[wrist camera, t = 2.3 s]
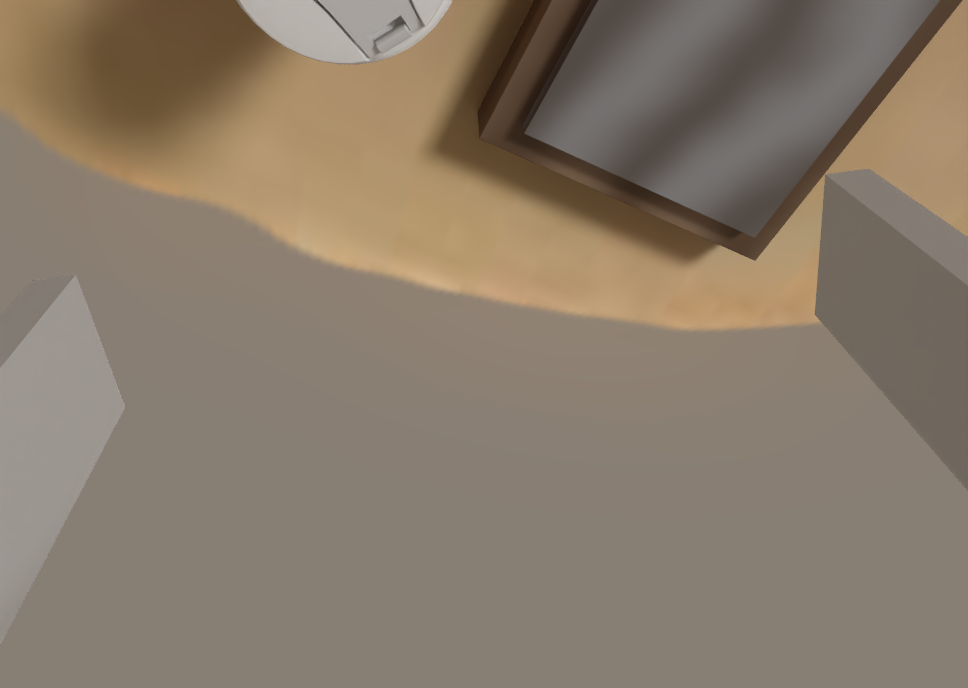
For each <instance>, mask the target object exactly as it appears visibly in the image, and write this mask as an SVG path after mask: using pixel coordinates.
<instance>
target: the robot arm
mask: <svg viewBox="0 0 968 688" xmlns="http://www.w3.org/2000/svg"><path fill="white" fill-rule="evenodd" d="M815 315H816V316H817V317H818V319H819V320H820V321H821V322H822V323H823V324H824V326H825V327H826V328H827V329H828V330H829V331H830V332H831V334H832V335H833V336H834V337H835V338H836V339H837V340H838V342H839V343H840V344H841V345H842V346H843V347H844V349H845V350H846V351H847V352H848V353H849V354H850V355H851V357H852V358H853V359H854V360H855V361H856V362H857V363H858V365H859V366H860V367H861V368H862V369H863V370H864V372H865V373H866V374H867V375H868V376H869V377H870V378H871V380H872V381H873V382H874V383H875V384H876V385H877V386H878V388H879V389H880V390H881V391H882V392H883V393H884V395H885V396H886V397H887V398H888V399H889V400H890V402H891V403H892V404H893V405H894V406H895V407H896V408H897V410H898V411H899V412H900V413H901V414H902V415H903V416H904V418H905V419H906V420H907V421H908V422H909V423H910V424H911V426H912V427H913V428H914V429H915V430H916V431H917V433H918V434H919V435H920V436H921V437H922V438H923V440H924V441H925V442H926V443H927V444H928V445H929V446H930V448H931V449H932V450H933V451H934V452H935V453H936V454H937V455H938V457H939V458H940V459H941V460H942V461H943V463H944V464H945V465H946V466H947V467H948V468H949V469H950V471H951V472H952V473H953V474H954V475H955V476H956V477H957V479H958V480H959V481H960V482H961V483H962V484H963V485H964V487H965V488H966V489H967V490H968V237H967V236H966V235H964V234H963V233H961V232H960V231H958V230H957V229H955V228H954V227H953V226H951V225H950V224H948V223H947V222H945V221H944V220H942V219H941V218H940V217H938V216H937V215H935V214H934V213H932V212H931V211H929V210H928V209H927V208H925V207H924V206H922V205H921V204H919V203H918V202H916V201H915V200H914V199H912V198H911V197H909V196H908V195H906V194H905V193H903V192H902V191H901V190H899V189H898V188H896V187H895V186H893V185H892V184H890V183H889V182H888V181H886V180H885V179H883V178H882V177H880V176H879V175H877V174H876V173H875V172H873V171H872V170H870V169H863V170H855V171H848V172H840V173H833V174H825V186H824V200H823V213H822V226H821V240H820V253H819V266H818V279H817V293H816V306H815ZM124 408H125V405H124V403H123V400H122V397H121V395H120V392H119V389H118V386H117V384H116V381H115V378H114V376H113V373H112V370H111V368H110V365H109V362H108V360H107V357H106V354H105V352H104V349H103V346H102V344H101V341H100V339H99V336H98V333H97V330H96V328H95V325H94V322H93V320H92V317H91V314H90V312H89V309H88V306H87V303H86V301H85V298H84V296H83V293H82V290H81V287H80V285H79V282H78V280H77V277H76V275H70V276H63V277H55V278H47V279H40V280H32V281H31V282H30V283H29V284H28V285H27V287H26V288H25V289H24V290H23V291H22V292H21V293H20V294H19V295H18V297H17V298H16V299H15V300H14V301H13V302H12V303H11V304H10V306H9V307H8V308H7V309H6V310H5V311H4V312H3V313H2V314H1V315H0V645H1V643H2V641H3V639H4V637H5V635H6V633H7V631H8V629H9V627H10V625H11V624H12V622H13V620H14V618H15V616H16V614H17V612H18V610H19V609H20V607H21V605H22V603H23V601H24V599H25V597H26V595H27V593H28V591H29V589H30V587H31V586H32V584H33V582H34V580H35V578H36V576H37V574H38V572H39V570H40V568H41V566H42V565H43V563H44V561H45V559H46V557H47V555H48V553H49V551H50V549H51V548H52V546H53V544H54V542H55V540H56V538H57V536H58V534H59V532H60V530H61V528H62V527H63V525H64V523H65V521H66V519H67V517H68V515H69V513H70V511H71V509H72V507H73V506H74V504H75V502H76V500H77V498H78V496H79V494H80V492H81V490H82V488H83V486H84V485H85V483H86V481H87V479H88V477H89V475H90V473H91V471H92V469H93V467H94V466H95V464H96V462H97V460H98V458H99V456H100V454H101V452H102V450H103V448H104V446H105V445H106V443H107V441H108V439H109V437H110V435H111V433H112V431H113V429H114V427H115V426H116V423H117V421H118V420H119V418H120V416H121V414H122V412H123V410H124Z"/></svg>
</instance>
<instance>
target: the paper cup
mask: <svg viewBox="0 0 968 688" xmlns="http://www.w3.org/2000/svg"><path fill="white" fill-rule="evenodd" d="M236 1H237V2H238V4H239V5H240V7H241V8H242V9H243V10H244V12H245V13H246V14H247V15H248V16H249V17H250V19H251V20H252V21H253V22H254V23H255V24H256V25H257V26H258V27H260V28H261V29H262V30H263V31H264V32H265V33H266V34H267V35H268V36H270V37H271V38H273V39H274V40H276V41H277V42H279V43H280V44H282V45H283V46H285V47H286V48H288V49H290V50H292V51H294V52H296V53H298V54H300V55H303V56H306V57H309V58H312V59H315V60H318V61H323V62H329V63H335V64H363V63H370V62H376V61H380V60H383V59H386V58H389V57H393V56H395V55H397V54H399V53H401V52H403V51H405V50H407V49H409V48H410V47H412V46H413V45H414V44H416V43H417V42H419V41H420V40H421V39H423V38H424V37H425V36H426V35H427V34H428V33H429V32H430V31H431V30H432V29H433V28H434V27H435V26H436V25H437V24H438V22H439V21H440V20H441V18H442V17H443V16H444V14H445V13H446V11H447V10H448V8H449V6H450V4H451V2H452V0H236Z"/></svg>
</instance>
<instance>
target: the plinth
mask: <svg viewBox="0 0 968 688" xmlns="http://www.w3.org/2000/svg"><path fill="white" fill-rule="evenodd" d="M961 1H962V0H535V1H534V3H533V5H532V7H531V9H530V11H529V13H528V15H527V17H526V19H525V21H524V23H523V25H522V27H521V29H520V31H519V32H518V34H517V36H516V38H515V40H514V42H513V44H512V46H511V48H510V50H509V52H508V54H507V56H506V58H505V60H504V62H503V64H502V66H501V68H500V70H499V71H498V73H497V75H496V77H495V79H494V81H493V83H492V85H491V87H490V89H489V91H488V93H487V95H486V97H485V99H484V101H483V103H482V105H481V107H480V109H479V110H478V123H479V138H480V139H482V140H484V141H486V142H489V143H491V144H493V145H495V146H498V147H500V148H502V149H504V150H507V151H509V152H511V153H513V154H516V155H518V156H520V157H522V158H525V159H527V160H529V161H531V162H534V163H536V164H538V165H540V166H543V167H545V168H547V169H550V170H552V171H554V172H556V173H559V174H561V175H563V176H565V177H568V178H570V179H572V180H574V181H577V182H579V183H581V184H583V185H586V186H588V187H590V188H592V189H595V190H597V191H599V192H601V193H604V194H606V195H608V196H610V197H613V198H615V199H617V200H619V201H622V202H624V203H626V204H628V205H631V206H633V207H635V208H637V209H640V210H642V211H644V212H646V213H649V214H651V215H653V216H655V217H658V218H660V219H662V220H665V221H667V222H669V223H671V224H674V225H676V226H678V227H680V228H683V229H685V230H687V231H689V232H692V233H694V234H696V235H698V236H701V237H703V238H705V239H707V240H710V241H712V242H714V243H716V244H719V245H721V246H723V247H725V248H728V249H730V250H732V251H734V252H737V253H739V254H741V255H743V256H746V257H748V258H750V259H752V260H756V259H757V258H758V257H759V255H760V254H761V253H762V252H763V250H764V249H765V248H766V247H767V245H768V244H769V243H770V242H771V240H772V239H773V238H774V237H775V235H776V234H777V233H778V231H779V230H780V229H781V228H782V226H783V225H784V224H785V223H786V221H787V220H788V219H789V218H790V216H791V215H792V214H793V213H794V211H795V210H796V209H797V208H798V206H799V205H800V204H801V203H802V201H803V200H804V199H805V198H806V196H807V195H808V194H809V193H810V191H811V190H812V189H813V187H814V186H815V185H816V184H817V182H818V181H819V180H820V179H821V177H822V176H823V175H824V174H825V172H826V171H827V170H828V169H829V167H830V166H831V165H832V164H833V162H834V161H835V160H836V159H837V157H838V156H839V155H840V154H841V152H842V151H843V150H844V149H845V147H846V146H847V145H848V143H849V142H850V141H851V140H852V138H853V137H854V136H855V135H856V133H857V132H858V131H859V130H860V128H861V127H862V126H863V125H864V123H865V122H866V121H867V120H868V118H869V117H870V116H871V115H872V113H873V112H874V111H875V110H876V108H877V107H878V106H879V105H880V103H881V102H882V101H883V99H884V98H885V97H886V96H887V94H888V93H889V92H890V91H891V89H892V88H893V87H894V86H895V84H896V83H897V82H898V81H899V79H900V78H901V77H902V76H903V74H904V73H905V72H906V71H907V69H908V68H909V67H910V66H911V64H912V63H913V62H914V61H915V59H916V58H917V57H918V55H919V54H920V53H921V52H922V50H923V49H924V48H925V47H926V45H927V44H928V43H929V42H930V40H931V39H932V38H933V37H934V35H935V34H936V33H937V32H938V30H939V29H940V28H941V27H942V25H943V24H944V23H945V22H946V20H947V19H948V18H949V17H950V15H951V14H952V13H953V11H954V10H955V9H956V8H957V6H958V5H959V4H960V3H961Z"/></svg>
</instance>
